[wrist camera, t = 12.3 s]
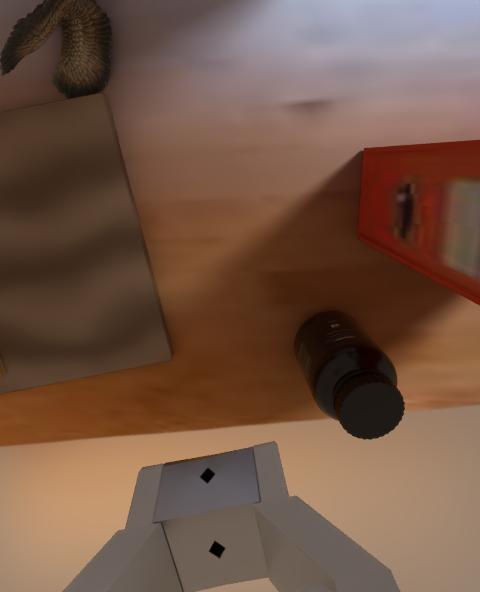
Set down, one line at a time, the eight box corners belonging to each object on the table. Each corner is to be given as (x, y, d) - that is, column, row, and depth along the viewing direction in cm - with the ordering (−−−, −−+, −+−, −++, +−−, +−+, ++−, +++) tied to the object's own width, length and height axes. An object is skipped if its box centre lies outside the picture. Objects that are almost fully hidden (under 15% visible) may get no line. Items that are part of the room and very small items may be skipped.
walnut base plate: (-167, 148, 33) (-184, 147, 31) (106, 95, 33) (101, 92, 31) (-50, 396, 40) (-60, 405, 38) (173, 353, 40) (172, 360, 38)
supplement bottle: (366, 310, 40) (427, 369, 28) (356, 373, 42) (410, 452, 30) (296, 308, 39) (330, 367, 28) (290, 372, 41) (319, 452, 30)
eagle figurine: (-7, -57, 28) (-13, 80, 29) (13, -120, 23) (4, 50, 24) (102, -4, 33) (94, 112, 34) (140, -46, 28) (129, 93, 29)
